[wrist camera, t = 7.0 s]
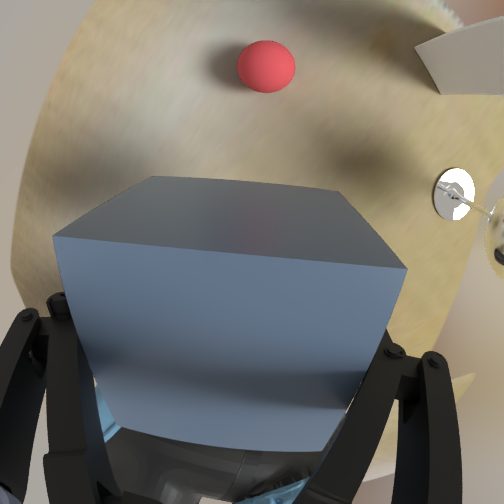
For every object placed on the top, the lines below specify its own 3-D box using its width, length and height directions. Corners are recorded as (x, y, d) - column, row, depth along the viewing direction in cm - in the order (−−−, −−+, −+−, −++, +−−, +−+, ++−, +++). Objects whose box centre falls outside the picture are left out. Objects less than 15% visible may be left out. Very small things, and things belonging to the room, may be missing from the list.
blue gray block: (307, 338, 19) (321, 451, 11) (162, 323, 19) (117, 425, 12) (338, 191, 15) (407, 269, 7) (152, 176, 15) (52, 235, 7)
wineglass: (471, 228, 29) (562, 310, 13) (421, 225, 29) (515, 322, 13) (481, 166, 25) (592, 221, 9) (431, 155, 26) (554, 211, 10)
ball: (290, 97, 25) (294, 93, 20) (238, 92, 25) (231, 87, 20) (295, 50, 23) (300, 37, 18) (242, 46, 23) (236, 32, 18)
